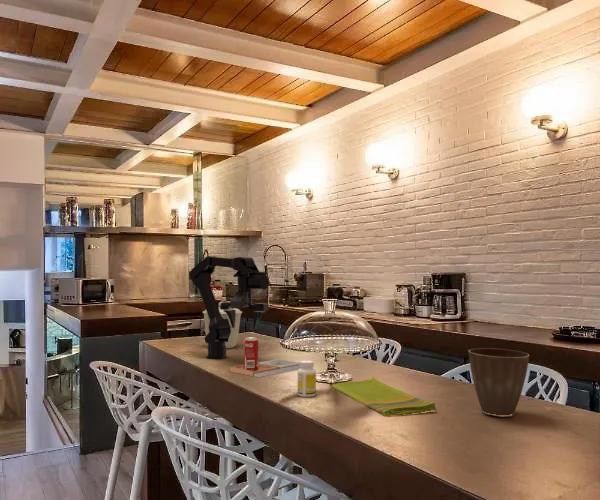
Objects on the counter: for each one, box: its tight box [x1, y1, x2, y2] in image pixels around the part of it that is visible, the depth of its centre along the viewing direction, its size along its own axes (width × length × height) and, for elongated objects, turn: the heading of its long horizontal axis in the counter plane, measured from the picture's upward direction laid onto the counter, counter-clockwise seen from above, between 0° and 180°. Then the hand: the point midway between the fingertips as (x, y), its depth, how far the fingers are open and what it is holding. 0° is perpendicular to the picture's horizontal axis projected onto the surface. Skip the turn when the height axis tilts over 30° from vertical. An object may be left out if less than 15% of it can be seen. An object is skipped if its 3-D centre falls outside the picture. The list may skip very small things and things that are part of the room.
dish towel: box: [331, 377, 437, 417], centre depth 159 cm, size 15×36×3 cm, turn 19°
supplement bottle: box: [297, 360, 317, 398], centre depth 162 cm, size 5×5×10 cm
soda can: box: [242, 336, 260, 371], centre depth 197 cm, size 5×5×12 cm
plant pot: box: [468, 347, 530, 415], centre depth 144 cm, size 15×15×16 cm
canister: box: [202, 301, 243, 350], centre depth 254 cm, size 18×18×21 cm
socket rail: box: [229, 358, 301, 378], centre depth 201 cm, size 25×14×2 cm, turn 138°
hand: (244, 328), depth 217 cm, fingers open, 9 cm apart
